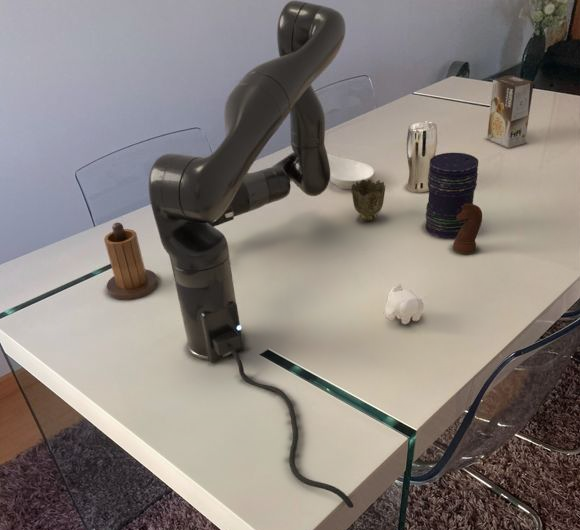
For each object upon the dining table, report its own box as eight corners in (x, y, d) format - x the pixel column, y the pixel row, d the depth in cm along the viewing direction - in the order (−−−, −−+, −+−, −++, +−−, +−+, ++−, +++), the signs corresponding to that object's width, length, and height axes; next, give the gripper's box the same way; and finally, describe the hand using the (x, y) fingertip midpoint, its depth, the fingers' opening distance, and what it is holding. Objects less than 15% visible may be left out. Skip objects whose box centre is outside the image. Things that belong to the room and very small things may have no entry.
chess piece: (453, 243, 133) (457, 198, 127) (478, 244, 132) (484, 199, 126) (451, 254, 130) (456, 208, 124) (477, 255, 128) (483, 209, 122)
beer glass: (433, 193, 153) (437, 131, 144) (404, 193, 154) (406, 131, 145) (434, 181, 158) (438, 120, 149) (405, 181, 160) (408, 121, 150)
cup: (346, 223, 144) (345, 190, 139) (359, 209, 149) (359, 177, 144) (377, 228, 141) (378, 194, 136) (389, 214, 146) (390, 181, 141)
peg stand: (166, 288, 127) (151, 224, 119) (118, 305, 123) (100, 240, 115) (146, 268, 134) (131, 206, 126) (100, 284, 130) (82, 222, 122)
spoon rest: (381, 178, 162) (381, 151, 158) (363, 197, 154) (363, 168, 150) (298, 168, 172) (296, 141, 167) (277, 185, 164) (275, 158, 159)
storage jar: (437, 242, 134) (442, 174, 125) (417, 223, 141) (420, 157, 132) (480, 233, 135) (488, 165, 126) (458, 214, 143) (464, 149, 134)
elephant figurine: (375, 315, 114) (376, 287, 111) (415, 304, 116) (416, 276, 113) (393, 335, 109) (394, 306, 106) (434, 323, 111) (437, 294, 107)
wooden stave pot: (151, 282, 127) (140, 236, 121) (123, 292, 125) (110, 246, 119) (140, 270, 131) (129, 226, 125) (112, 280, 129) (99, 235, 123)
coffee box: (526, 143, 174) (535, 81, 164) (507, 148, 172) (516, 86, 162) (503, 134, 181) (511, 74, 171) (485, 138, 179) (492, 78, 169)
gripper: (223, 167, 135) (153, 188, 129) (258, 187, 125) (183, 211, 119) (228, 200, 140) (160, 222, 133) (261, 222, 130) (190, 247, 123)
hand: (171, 217), depth 126 cm, fingers open, 8 cm apart
